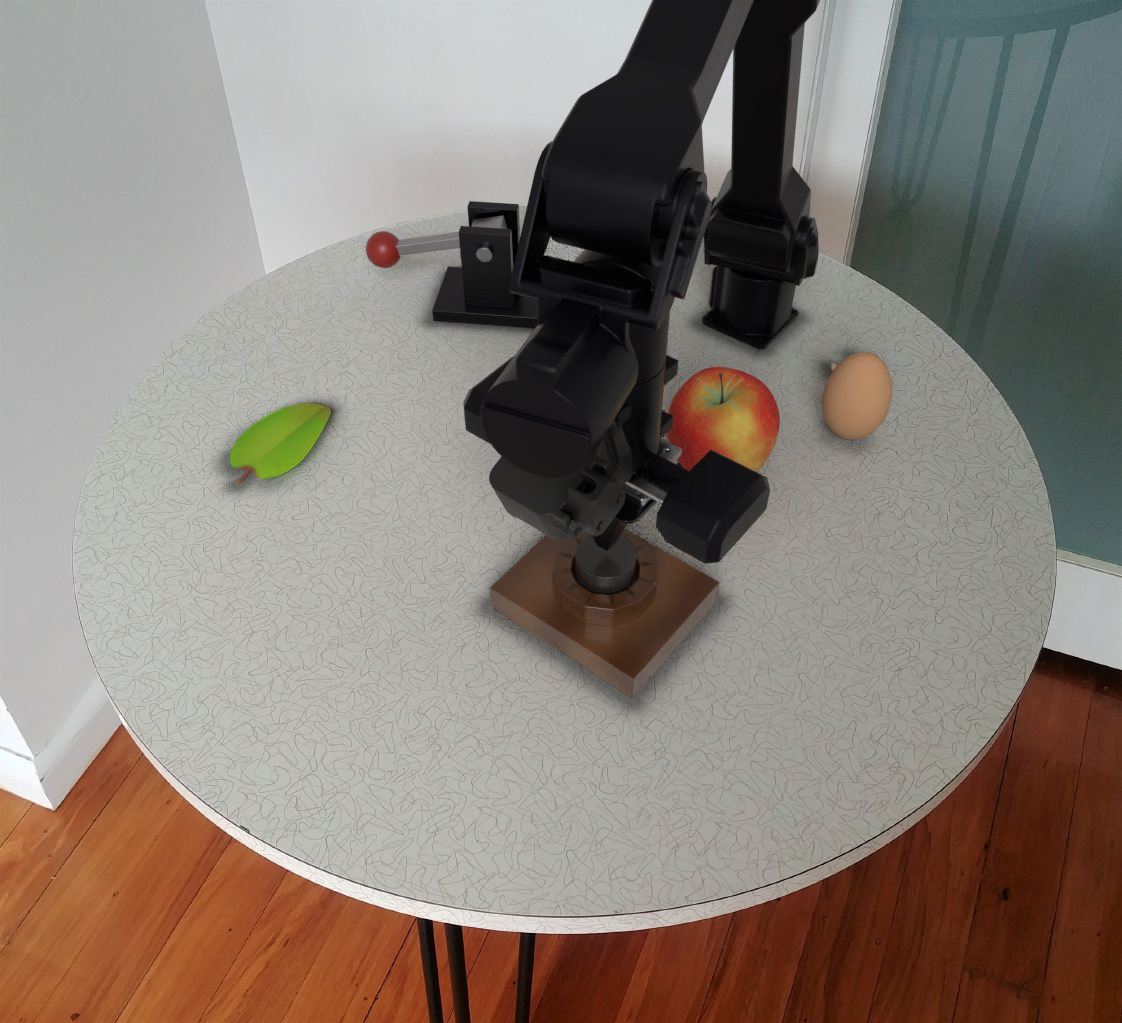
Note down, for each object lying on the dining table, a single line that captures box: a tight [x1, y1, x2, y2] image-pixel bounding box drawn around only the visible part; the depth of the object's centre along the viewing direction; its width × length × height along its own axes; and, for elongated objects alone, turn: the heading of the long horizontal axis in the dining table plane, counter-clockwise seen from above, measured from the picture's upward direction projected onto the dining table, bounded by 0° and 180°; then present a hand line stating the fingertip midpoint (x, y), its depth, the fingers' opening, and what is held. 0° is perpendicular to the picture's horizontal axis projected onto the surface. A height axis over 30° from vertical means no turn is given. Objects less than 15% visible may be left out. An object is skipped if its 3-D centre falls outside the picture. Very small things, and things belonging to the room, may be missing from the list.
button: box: [575, 535, 636, 595], centre depth 70 cm, size 4×4×2 cm
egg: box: [821, 350, 893, 441], centre depth 82 cm, size 5×5×8 cm
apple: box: [666, 366, 781, 472], centre depth 79 cm, size 8×8×10 cm
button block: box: [489, 528, 720, 699], centre depth 72 cm, size 12×10×4 cm
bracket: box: [431, 200, 538, 329], centre depth 94 cm, size 10×7×9 cm
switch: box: [365, 216, 508, 269], centre depth 94 cm, size 13×3×3 cm, turn 83°
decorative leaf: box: [229, 402, 332, 485], centre depth 84 cm, size 8×9×1 cm
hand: (606, 544), depth 69 cm, fingers closed
